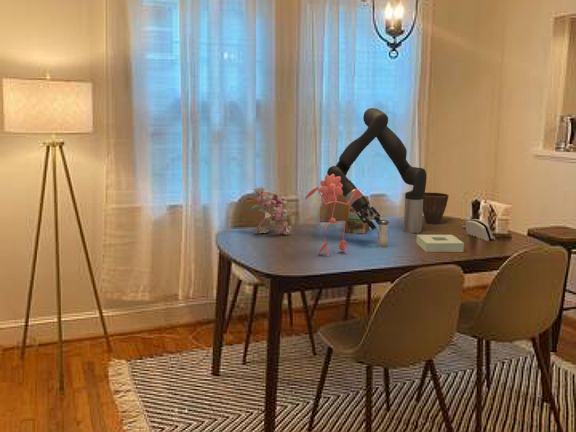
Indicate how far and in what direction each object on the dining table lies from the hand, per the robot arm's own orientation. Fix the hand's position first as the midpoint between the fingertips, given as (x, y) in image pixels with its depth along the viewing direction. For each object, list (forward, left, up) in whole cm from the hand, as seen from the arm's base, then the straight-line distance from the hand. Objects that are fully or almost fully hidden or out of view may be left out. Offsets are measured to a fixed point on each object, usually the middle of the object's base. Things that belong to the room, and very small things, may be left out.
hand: (378, 227), depth 273 cm
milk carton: (-30, -5, -9) cm, 31 cm away
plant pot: (-53, +41, -9) cm, 67 cm away
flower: (-24, -47, -9) cm, 53 cm away
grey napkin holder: (-18, +54, -9) cm, 58 cm away
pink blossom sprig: (+12, -24, -9) cm, 29 cm away
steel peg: (+1, +2, -9) cm, 9 cm away
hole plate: (+3, +28, -9) cm, 30 cm away
